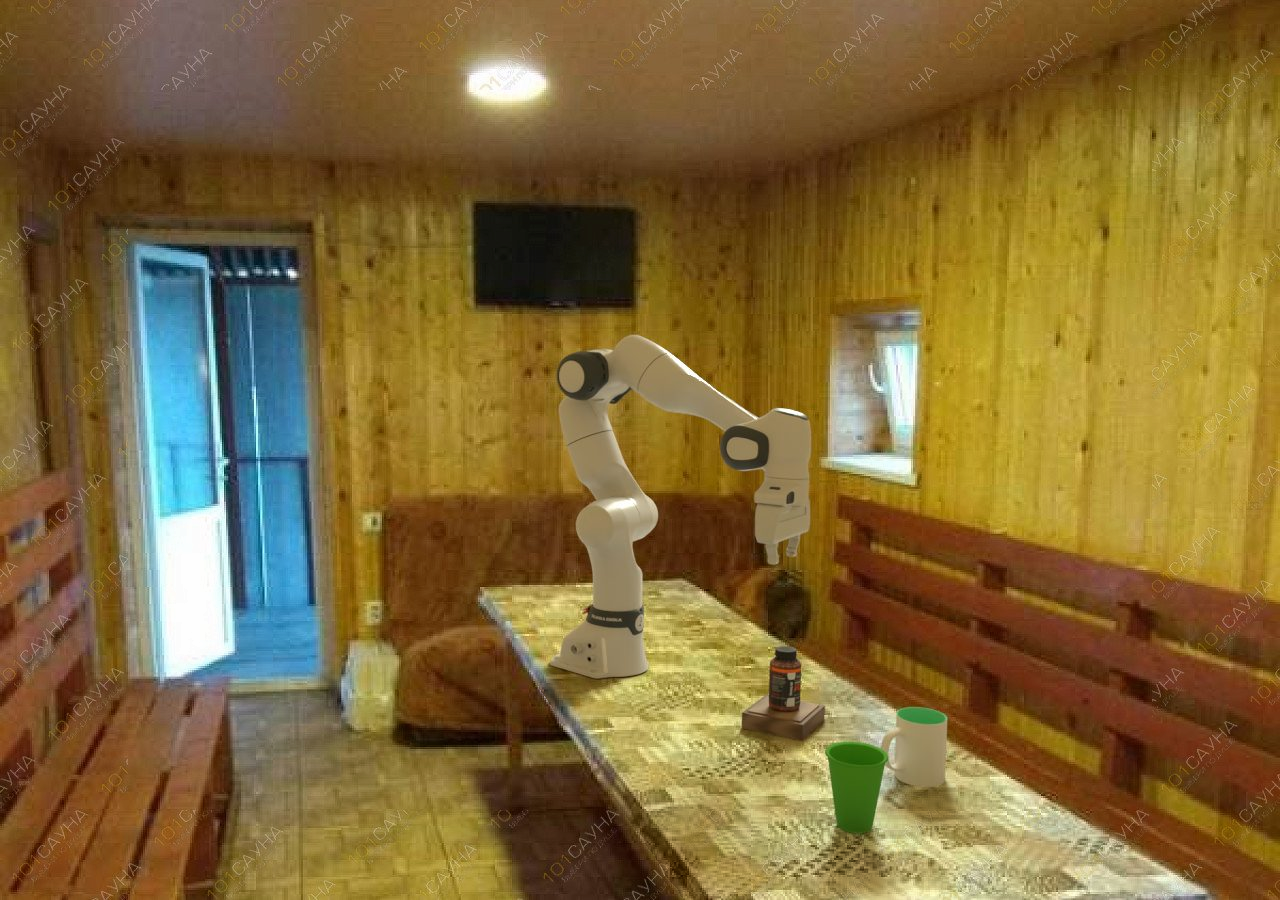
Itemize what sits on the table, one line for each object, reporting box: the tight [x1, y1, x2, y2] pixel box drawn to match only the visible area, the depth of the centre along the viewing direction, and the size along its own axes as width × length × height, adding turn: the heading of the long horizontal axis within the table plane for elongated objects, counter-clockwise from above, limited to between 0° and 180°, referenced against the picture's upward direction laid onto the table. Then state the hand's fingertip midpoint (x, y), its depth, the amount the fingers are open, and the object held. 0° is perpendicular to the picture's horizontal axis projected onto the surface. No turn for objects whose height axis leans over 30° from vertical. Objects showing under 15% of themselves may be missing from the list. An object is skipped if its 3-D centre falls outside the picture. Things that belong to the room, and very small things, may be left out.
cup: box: [824, 741, 889, 834], centre depth 140 cm, size 9×9×11 cm
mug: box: [880, 706, 948, 788], centre depth 156 cm, size 12×8×10 cm
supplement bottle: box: [768, 645, 802, 711], centre depth 180 cm, size 6×6×11 cm
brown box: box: [741, 694, 826, 742], centre depth 181 cm, size 12×12×3 cm
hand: (782, 560), depth 189 cm, fingers open, 8 cm apart
